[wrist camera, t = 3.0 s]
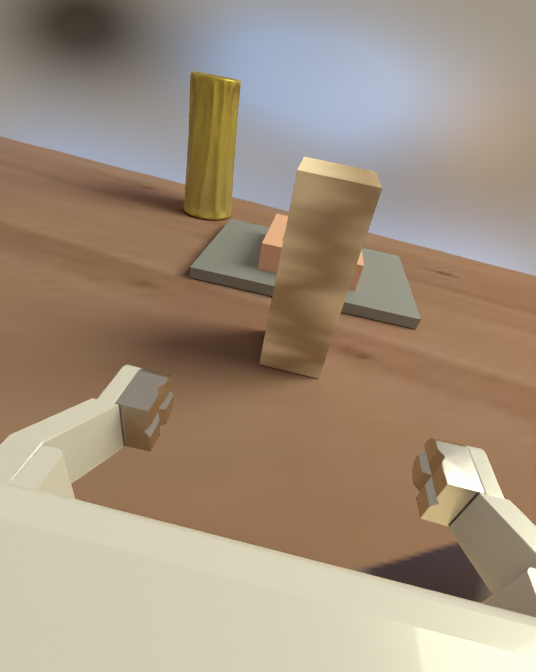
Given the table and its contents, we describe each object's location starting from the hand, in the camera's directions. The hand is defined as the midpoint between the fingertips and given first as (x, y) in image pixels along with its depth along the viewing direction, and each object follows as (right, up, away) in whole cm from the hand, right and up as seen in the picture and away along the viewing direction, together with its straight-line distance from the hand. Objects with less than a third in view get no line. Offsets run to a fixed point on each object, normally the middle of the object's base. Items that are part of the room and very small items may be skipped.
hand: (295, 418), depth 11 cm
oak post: (+1, +1, +14) cm, 14 cm away
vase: (-9, +18, +35) cm, 40 cm away
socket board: (+3, +9, +25) cm, 27 cm away
